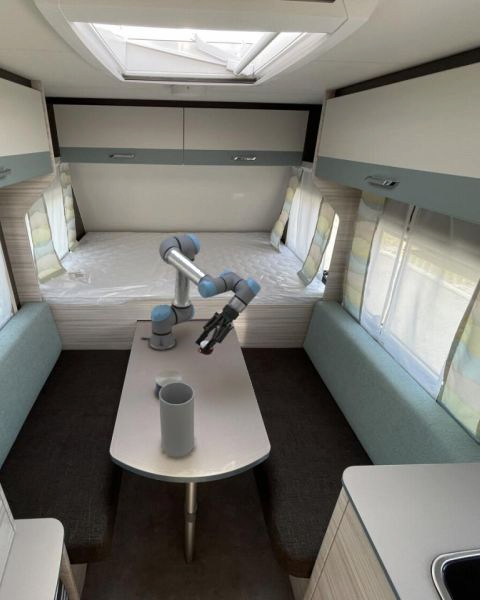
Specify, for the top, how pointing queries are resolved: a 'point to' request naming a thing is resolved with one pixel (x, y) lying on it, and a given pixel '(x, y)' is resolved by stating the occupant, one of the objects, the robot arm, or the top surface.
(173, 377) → the beige and blue cylinder
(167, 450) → the cylinder vase
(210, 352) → the cocoa
